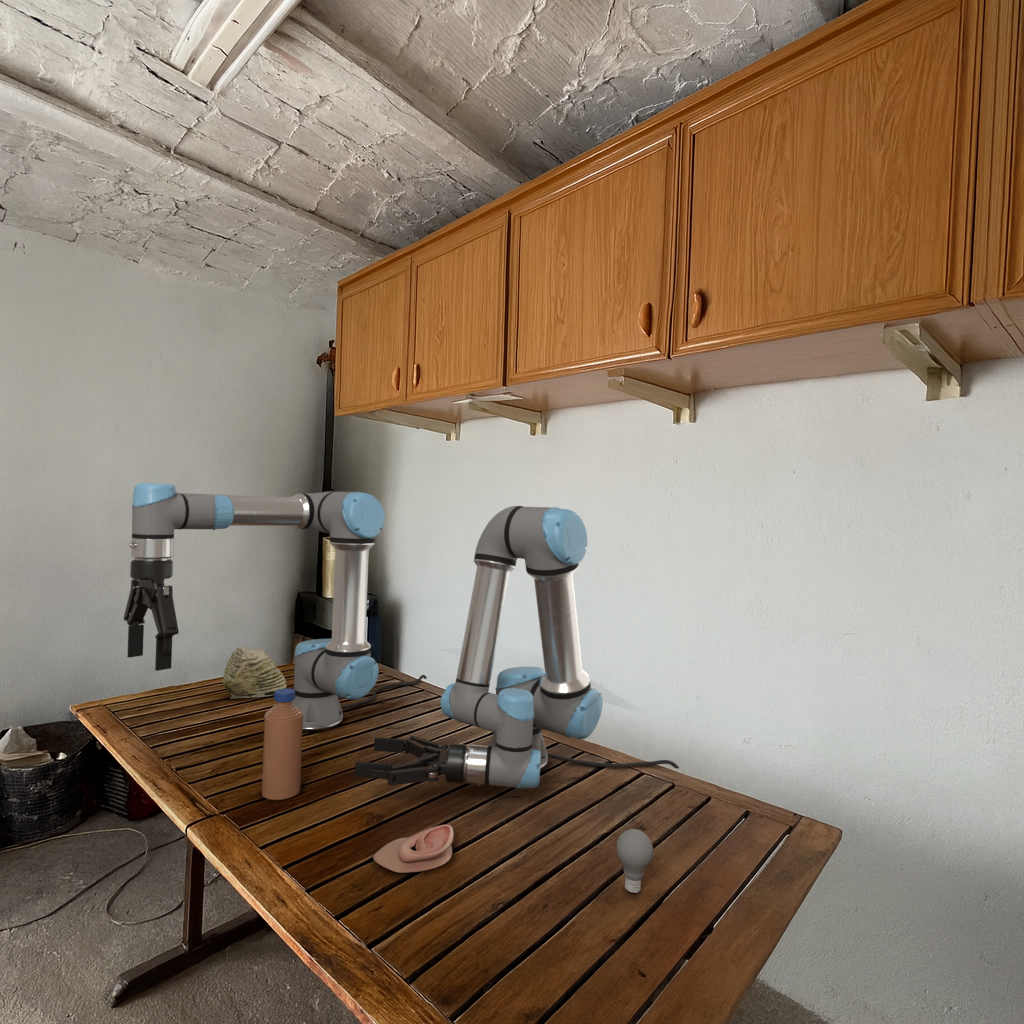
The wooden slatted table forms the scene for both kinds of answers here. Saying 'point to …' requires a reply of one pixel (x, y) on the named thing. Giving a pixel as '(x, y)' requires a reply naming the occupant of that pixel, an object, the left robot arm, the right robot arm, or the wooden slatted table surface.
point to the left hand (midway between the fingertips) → (148, 662)
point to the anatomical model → (417, 851)
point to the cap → (284, 695)
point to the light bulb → (634, 857)
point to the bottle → (282, 751)
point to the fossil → (252, 674)
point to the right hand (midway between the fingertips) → (365, 755)
